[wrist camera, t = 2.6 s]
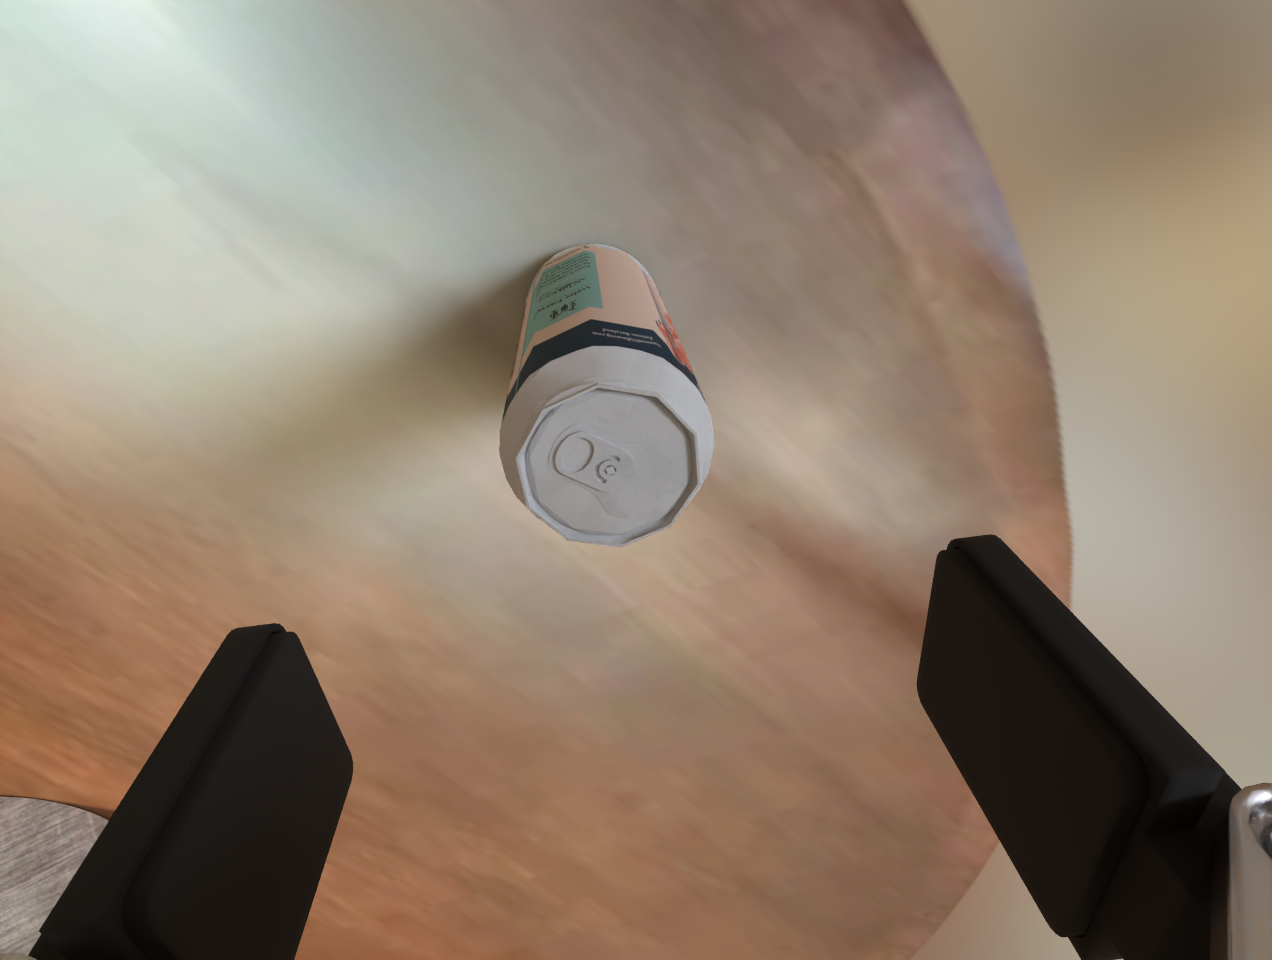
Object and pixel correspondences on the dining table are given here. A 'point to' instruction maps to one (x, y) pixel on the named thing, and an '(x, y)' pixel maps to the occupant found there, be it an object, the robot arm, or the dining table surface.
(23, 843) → the disc
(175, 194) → the dining table surface
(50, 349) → the dining table surface
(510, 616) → the dining table surface
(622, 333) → the beer can
